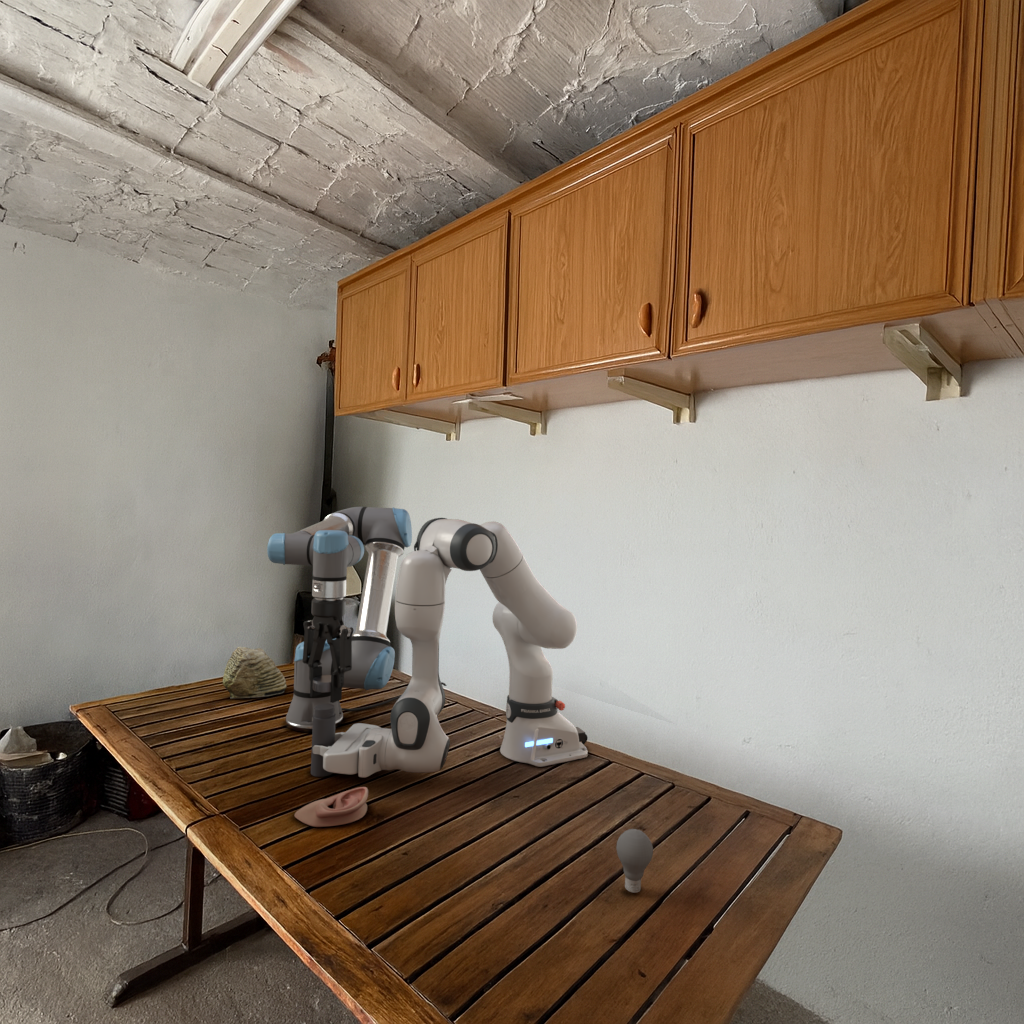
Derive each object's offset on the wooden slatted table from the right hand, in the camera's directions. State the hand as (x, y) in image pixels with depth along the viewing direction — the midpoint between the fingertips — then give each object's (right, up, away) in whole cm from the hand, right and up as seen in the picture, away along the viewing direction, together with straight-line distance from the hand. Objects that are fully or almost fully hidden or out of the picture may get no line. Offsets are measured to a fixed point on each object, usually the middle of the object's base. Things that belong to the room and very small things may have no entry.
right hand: (319, 743), depth 145 cm
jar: (+1, -7, 0) cm, 7 cm away
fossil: (-36, -4, +53) cm, 64 cm away
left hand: (+1, +10, 0) cm, 11 cm away
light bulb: (+64, -10, -40) cm, 76 cm away
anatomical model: (+8, -7, -19) cm, 22 cm away
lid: (+2, +15, 0) cm, 15 cm away
